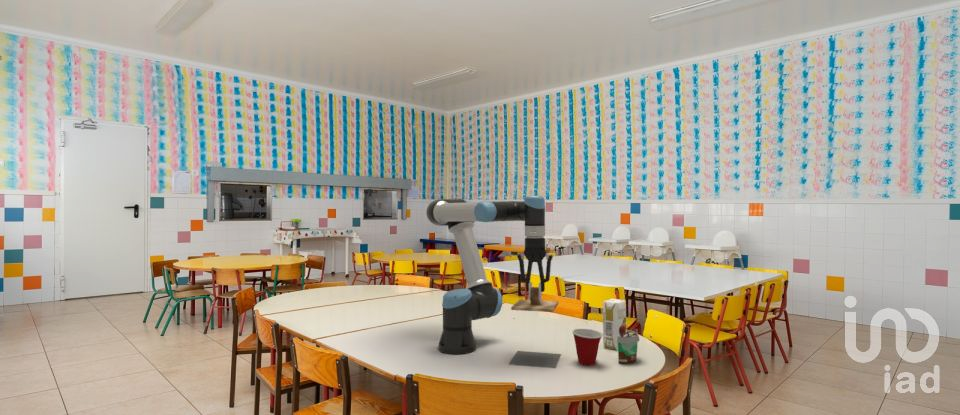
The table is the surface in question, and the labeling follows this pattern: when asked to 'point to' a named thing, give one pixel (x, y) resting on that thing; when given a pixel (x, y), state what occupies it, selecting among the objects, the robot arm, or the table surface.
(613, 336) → the juice carton
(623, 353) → the food container
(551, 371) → the table surface
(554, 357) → the mat
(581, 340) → the plastic cup
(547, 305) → the lid
